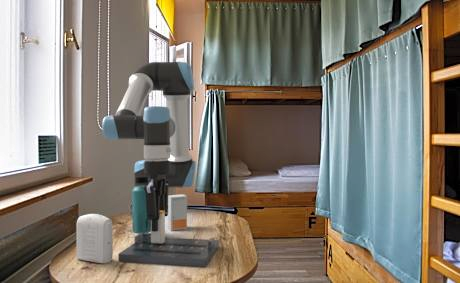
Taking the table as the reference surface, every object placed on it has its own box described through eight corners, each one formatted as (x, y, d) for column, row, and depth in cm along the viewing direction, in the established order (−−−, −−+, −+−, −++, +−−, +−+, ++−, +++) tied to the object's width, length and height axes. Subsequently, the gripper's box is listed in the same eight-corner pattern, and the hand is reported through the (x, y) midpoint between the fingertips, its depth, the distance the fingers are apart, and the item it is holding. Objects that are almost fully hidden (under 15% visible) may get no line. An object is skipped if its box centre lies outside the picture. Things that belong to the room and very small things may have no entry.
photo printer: (115, 259, 92) (114, 214, 92) (104, 265, 88) (103, 217, 88) (86, 254, 96) (85, 211, 95) (73, 260, 92) (73, 214, 91)
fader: (153, 240, 100) (153, 210, 100) (165, 241, 100) (164, 210, 100) (150, 242, 98) (150, 211, 98) (162, 243, 98) (162, 212, 97)
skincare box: (171, 231, 119) (170, 197, 119) (168, 228, 123) (167, 195, 123) (187, 229, 121) (187, 195, 121) (184, 226, 125) (184, 194, 125)
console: (144, 242, 106) (144, 229, 106) (219, 246, 102) (219, 233, 102) (118, 261, 91) (118, 246, 90) (205, 267, 86) (205, 251, 86)
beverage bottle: (147, 239, 110) (146, 177, 110) (128, 237, 111) (127, 177, 111) (155, 233, 116) (155, 175, 116) (137, 232, 118) (137, 174, 117)
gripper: (159, 162, 90) (160, 249, 91) (178, 158, 105) (178, 233, 106) (133, 161, 92) (134, 248, 92) (155, 158, 107) (156, 232, 107)
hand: (158, 240), depth 99 cm, fingers closed on fader, 2 cm apart
